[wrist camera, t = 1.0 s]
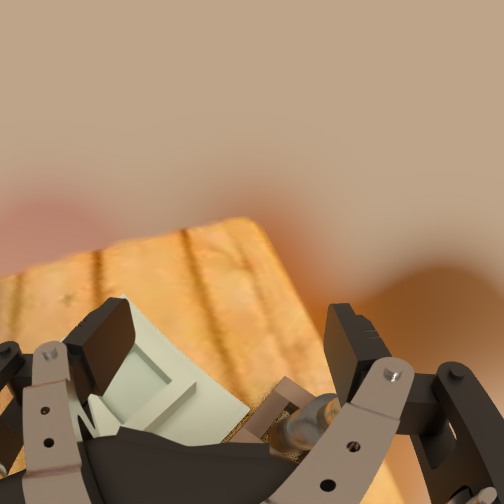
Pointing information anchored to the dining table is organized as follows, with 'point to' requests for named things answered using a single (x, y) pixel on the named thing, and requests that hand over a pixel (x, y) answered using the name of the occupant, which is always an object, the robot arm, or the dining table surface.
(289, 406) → the socket block
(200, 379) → the board
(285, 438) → the stepped metal cylinder
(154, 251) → the dining table surface
